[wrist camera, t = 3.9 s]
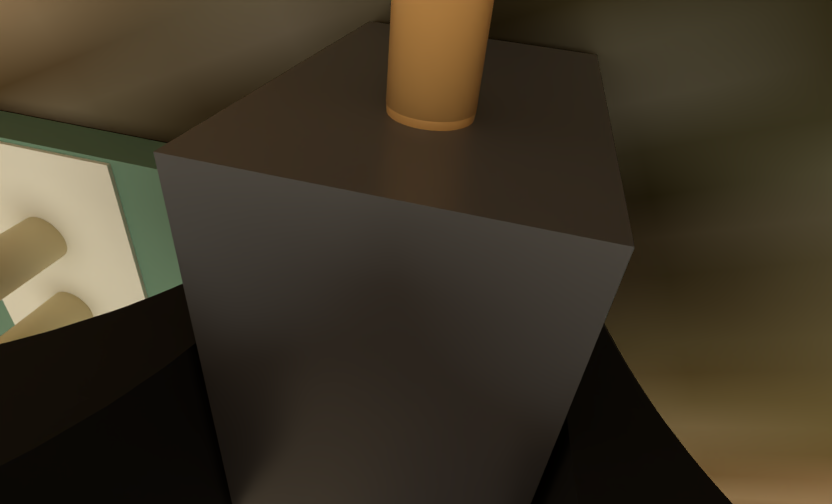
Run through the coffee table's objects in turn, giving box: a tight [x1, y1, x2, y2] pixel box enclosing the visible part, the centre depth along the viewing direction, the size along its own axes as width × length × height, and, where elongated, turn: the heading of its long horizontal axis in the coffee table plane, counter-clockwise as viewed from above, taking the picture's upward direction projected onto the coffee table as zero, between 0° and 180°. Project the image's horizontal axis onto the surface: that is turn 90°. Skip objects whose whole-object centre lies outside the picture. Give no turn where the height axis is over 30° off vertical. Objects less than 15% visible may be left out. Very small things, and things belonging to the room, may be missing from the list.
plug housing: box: [153, 0, 635, 504], centre depth 8 cm, size 4×12×6 cm, turn 175°
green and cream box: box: [0, 111, 183, 344], centre depth 13 cm, size 8×10×5 cm
